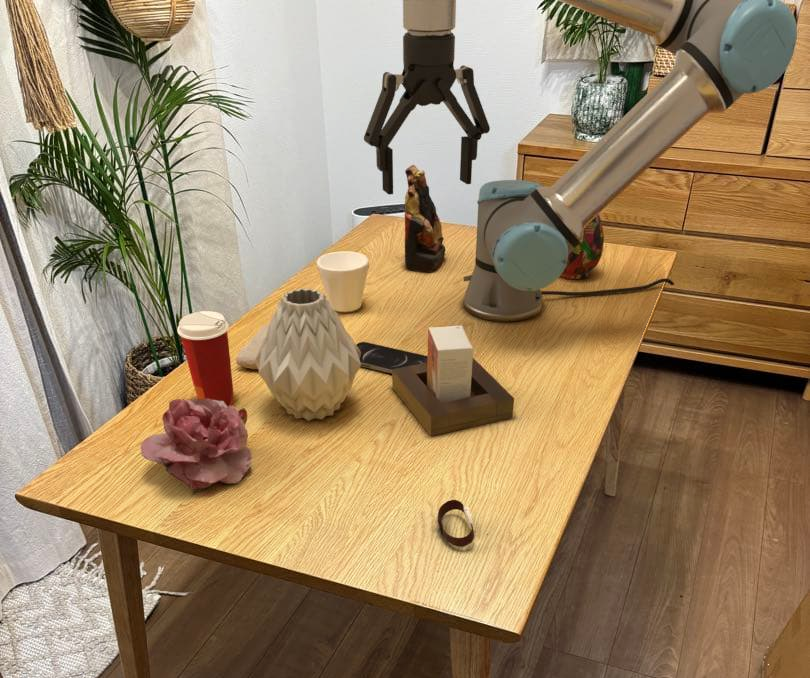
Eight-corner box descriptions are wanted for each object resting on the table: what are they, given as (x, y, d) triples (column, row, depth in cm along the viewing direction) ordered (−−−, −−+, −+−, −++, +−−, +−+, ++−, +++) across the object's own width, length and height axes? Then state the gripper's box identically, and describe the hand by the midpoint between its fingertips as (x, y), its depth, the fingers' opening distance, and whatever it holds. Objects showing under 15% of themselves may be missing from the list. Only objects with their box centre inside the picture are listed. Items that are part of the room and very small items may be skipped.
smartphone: (361, 340, 143) (435, 357, 137) (361, 345, 143) (435, 362, 138) (339, 357, 138) (415, 375, 132) (339, 362, 138) (415, 380, 133)
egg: (568, 287, 163) (578, 212, 153) (538, 270, 170) (545, 197, 160) (609, 277, 167) (621, 203, 157) (577, 260, 174) (587, 189, 164)
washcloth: (336, 334, 147) (335, 318, 145) (300, 379, 134) (298, 363, 132) (277, 326, 149) (275, 311, 147) (236, 370, 136) (233, 354, 134)
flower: (119, 468, 109) (126, 408, 103) (180, 427, 120) (190, 370, 114) (212, 516, 107) (225, 458, 101) (265, 470, 119) (279, 415, 113)
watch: (481, 547, 100) (483, 525, 98) (445, 552, 99) (446, 530, 97) (465, 511, 106) (466, 489, 103) (431, 515, 105) (432, 493, 103)
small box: (426, 386, 129) (427, 326, 123) (459, 384, 130) (462, 324, 123) (435, 412, 123) (436, 350, 117) (470, 409, 124) (473, 347, 117)
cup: (370, 296, 160) (369, 250, 154) (370, 317, 152) (368, 269, 146) (321, 297, 160) (317, 251, 154) (318, 318, 152) (314, 270, 146)
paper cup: (248, 394, 130) (236, 313, 121) (225, 417, 124) (211, 334, 115) (207, 386, 132) (191, 306, 123) (182, 409, 126) (164, 327, 117)
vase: (250, 394, 130) (234, 285, 118) (344, 375, 135) (337, 268, 123) (278, 444, 118) (263, 329, 106) (379, 421, 123) (376, 308, 111)
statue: (431, 275, 168) (433, 175, 155) (398, 269, 171) (396, 170, 158) (453, 256, 176) (457, 160, 163) (421, 250, 179) (422, 155, 166)
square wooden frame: (468, 372, 135) (469, 353, 133) (512, 417, 124) (514, 398, 122) (392, 388, 131) (392, 369, 129) (430, 436, 120) (431, 416, 118)
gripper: (494, 22, 120) (486, 171, 134) (338, 33, 113) (346, 189, 126) (518, 29, 115) (506, 184, 128) (355, 41, 107) (362, 203, 121)
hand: (427, 187), depth 127 cm, fingers open, 13 cm apart
